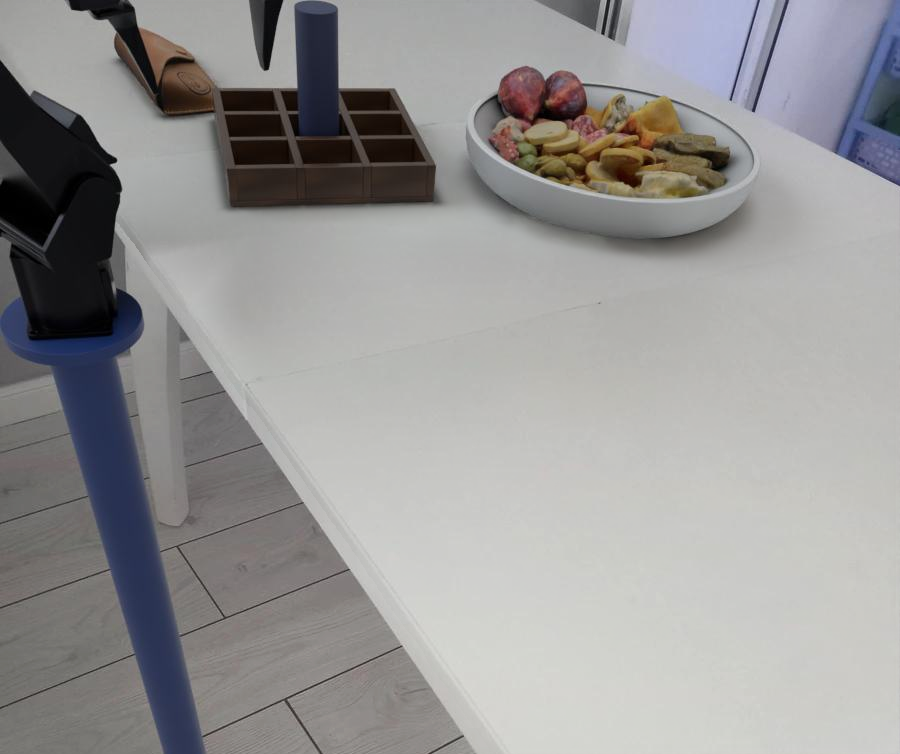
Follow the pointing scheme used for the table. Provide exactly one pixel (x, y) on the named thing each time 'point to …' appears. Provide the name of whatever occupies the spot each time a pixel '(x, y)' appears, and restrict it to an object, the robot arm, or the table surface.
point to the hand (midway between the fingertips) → (210, 80)
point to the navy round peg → (317, 67)
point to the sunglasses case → (172, 76)
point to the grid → (320, 150)
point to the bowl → (608, 156)
